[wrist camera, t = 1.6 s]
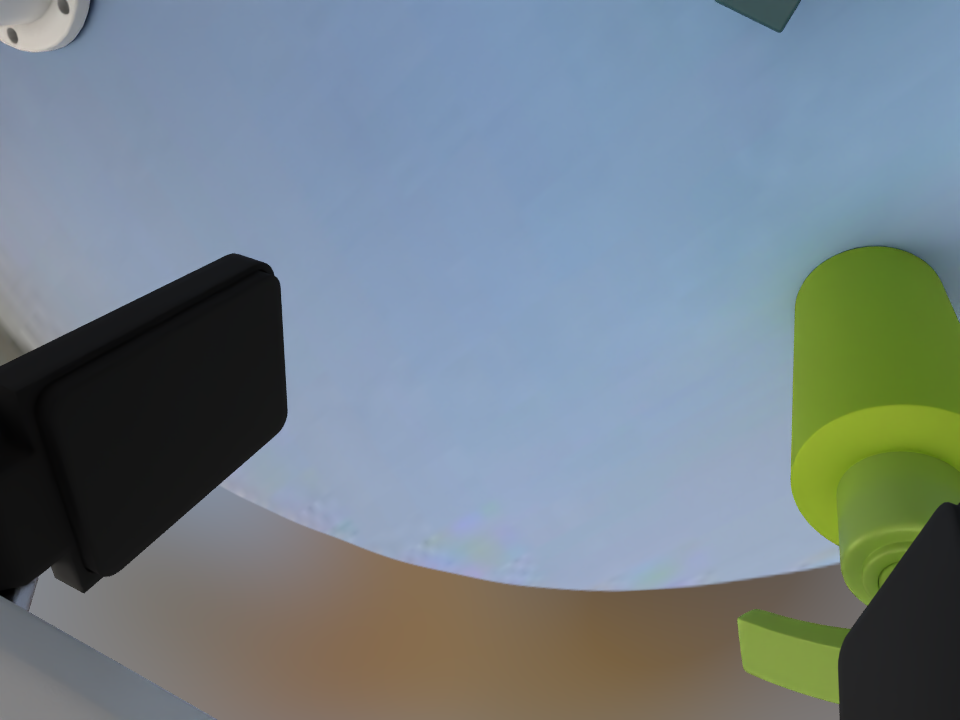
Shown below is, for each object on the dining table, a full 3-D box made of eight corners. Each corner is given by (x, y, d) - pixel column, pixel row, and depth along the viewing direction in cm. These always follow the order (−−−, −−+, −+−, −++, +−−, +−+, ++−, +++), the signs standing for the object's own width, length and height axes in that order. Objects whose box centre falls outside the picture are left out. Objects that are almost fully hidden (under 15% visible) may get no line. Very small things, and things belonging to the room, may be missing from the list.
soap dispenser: (766, 256, 30) (726, 570, 15) (947, 238, 27) (1147, 613, 11) (775, 367, 33) (748, 741, 17) (942, 362, 30) (1102, 815, 14)
